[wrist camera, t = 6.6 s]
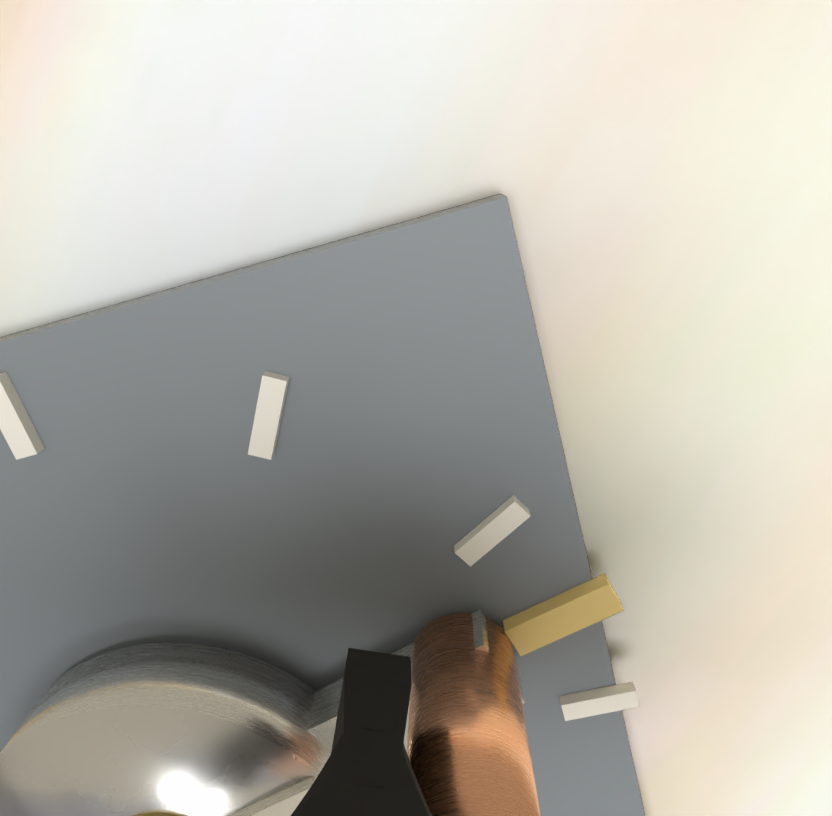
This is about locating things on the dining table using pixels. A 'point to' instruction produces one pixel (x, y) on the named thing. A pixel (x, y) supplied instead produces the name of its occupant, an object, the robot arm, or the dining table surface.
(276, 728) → the dial
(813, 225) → the dining table surface
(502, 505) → the board
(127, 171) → the dining table surface
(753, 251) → the dining table surface
